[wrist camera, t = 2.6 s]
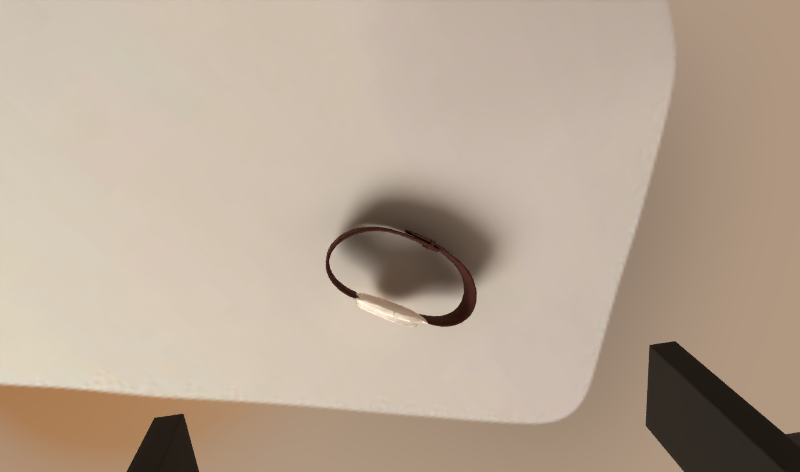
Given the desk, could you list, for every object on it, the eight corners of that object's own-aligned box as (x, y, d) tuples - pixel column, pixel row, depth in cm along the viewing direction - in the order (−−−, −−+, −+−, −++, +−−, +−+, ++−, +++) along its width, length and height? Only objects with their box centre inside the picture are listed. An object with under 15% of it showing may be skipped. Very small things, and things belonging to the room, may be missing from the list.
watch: (312, 281, 28) (307, 312, 25) (345, 198, 27) (345, 219, 24) (447, 328, 30) (461, 363, 26) (484, 251, 29) (503, 277, 25)
